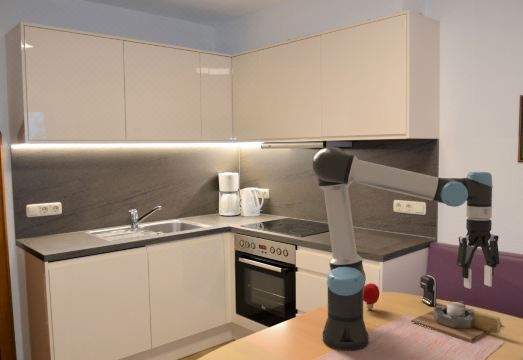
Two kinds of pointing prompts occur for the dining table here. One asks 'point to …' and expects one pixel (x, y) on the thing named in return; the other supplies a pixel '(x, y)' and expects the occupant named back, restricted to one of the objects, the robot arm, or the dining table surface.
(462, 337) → the mount plate
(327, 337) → the robot arm
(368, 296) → the light bulb
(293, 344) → the dining table surface
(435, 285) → the battery charger
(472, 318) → the ring nut
